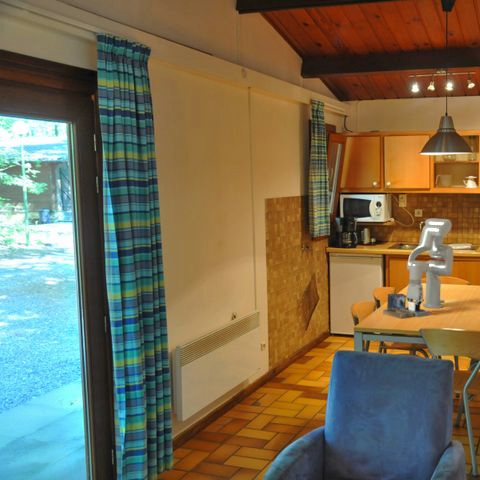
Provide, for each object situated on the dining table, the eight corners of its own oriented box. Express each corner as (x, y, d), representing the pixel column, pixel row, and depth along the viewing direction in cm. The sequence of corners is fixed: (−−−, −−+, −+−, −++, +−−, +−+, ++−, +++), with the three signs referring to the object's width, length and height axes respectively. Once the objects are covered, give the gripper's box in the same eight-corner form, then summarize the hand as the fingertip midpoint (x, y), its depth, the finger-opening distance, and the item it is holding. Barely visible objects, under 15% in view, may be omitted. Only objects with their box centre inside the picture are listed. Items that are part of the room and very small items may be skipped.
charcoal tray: (411, 311, 463) (411, 307, 462) (429, 315, 450) (429, 311, 450) (399, 313, 457) (399, 308, 457) (416, 317, 444) (416, 312, 444)
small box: (390, 311, 463) (391, 295, 462) (386, 309, 469) (387, 293, 468) (405, 310, 465) (406, 295, 464) (401, 308, 471) (402, 293, 470)
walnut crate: (395, 312, 459) (395, 308, 458) (413, 317, 445) (414, 312, 445) (383, 314, 453) (383, 310, 452) (401, 319, 439) (401, 314, 439)
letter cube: (414, 308, 457) (414, 301, 456) (419, 310, 452) (420, 302, 452) (408, 309, 454) (408, 301, 453) (414, 311, 450) (414, 303, 449)
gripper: (429, 283, 446) (428, 311, 448) (409, 279, 460) (408, 307, 462) (421, 284, 442) (420, 312, 444) (401, 280, 456) (400, 308, 458)
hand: (414, 309), depth 453 cm, fingers closed on letter cube, 4 cm apart
